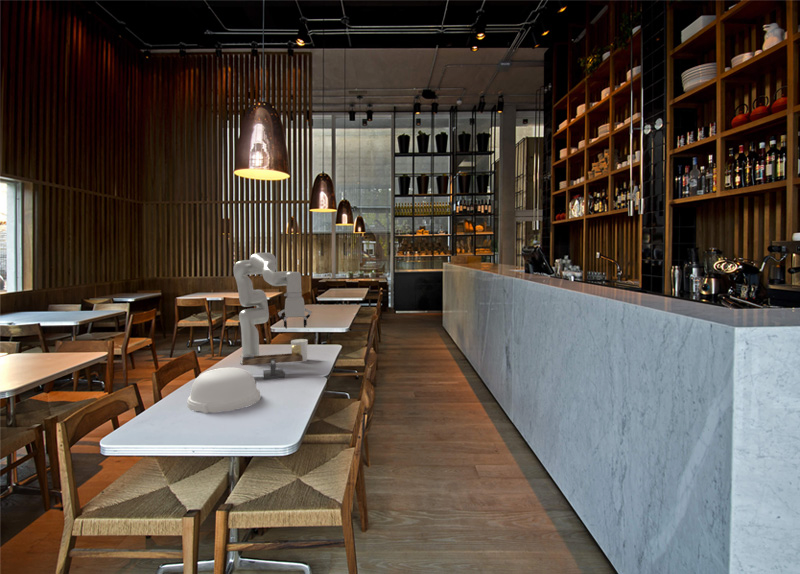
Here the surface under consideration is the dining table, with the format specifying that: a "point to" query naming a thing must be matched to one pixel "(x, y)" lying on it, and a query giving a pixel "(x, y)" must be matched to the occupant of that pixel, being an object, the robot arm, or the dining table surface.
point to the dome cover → (223, 390)
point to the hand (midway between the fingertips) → (295, 327)
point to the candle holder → (303, 347)
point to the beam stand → (273, 372)
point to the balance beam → (269, 359)
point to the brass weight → (296, 350)
